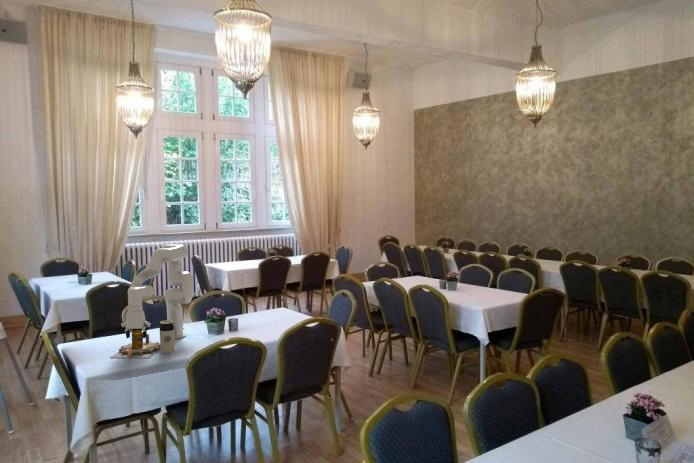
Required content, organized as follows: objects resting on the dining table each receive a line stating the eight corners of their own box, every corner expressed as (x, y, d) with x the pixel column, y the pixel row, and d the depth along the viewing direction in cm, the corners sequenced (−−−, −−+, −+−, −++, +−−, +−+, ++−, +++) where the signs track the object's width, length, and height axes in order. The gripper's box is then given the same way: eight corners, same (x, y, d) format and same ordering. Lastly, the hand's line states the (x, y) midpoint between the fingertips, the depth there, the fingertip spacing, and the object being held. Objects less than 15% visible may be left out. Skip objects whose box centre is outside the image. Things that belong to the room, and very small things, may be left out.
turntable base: (131, 345, 332) (130, 336, 332) (166, 345, 331) (166, 336, 331) (109, 358, 306) (109, 348, 306) (148, 358, 305) (147, 348, 304)
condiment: (144, 348, 315) (144, 328, 314) (129, 351, 310) (128, 330, 310) (142, 345, 321) (141, 325, 320) (127, 348, 317) (126, 327, 316)
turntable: (132, 343, 333) (131, 332, 333) (168, 344, 330) (168, 333, 330) (110, 354, 310) (110, 343, 310) (149, 355, 307) (149, 344, 307)
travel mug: (162, 350, 321) (161, 320, 320) (176, 349, 322) (175, 319, 320) (158, 354, 313) (157, 323, 312) (172, 353, 314) (171, 322, 313)
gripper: (117, 309, 311) (118, 339, 312) (147, 310, 310) (148, 339, 311) (123, 307, 318) (124, 336, 319) (152, 307, 317) (153, 336, 318)
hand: (136, 337), depth 315 cm, fingers open, 9 cm apart
